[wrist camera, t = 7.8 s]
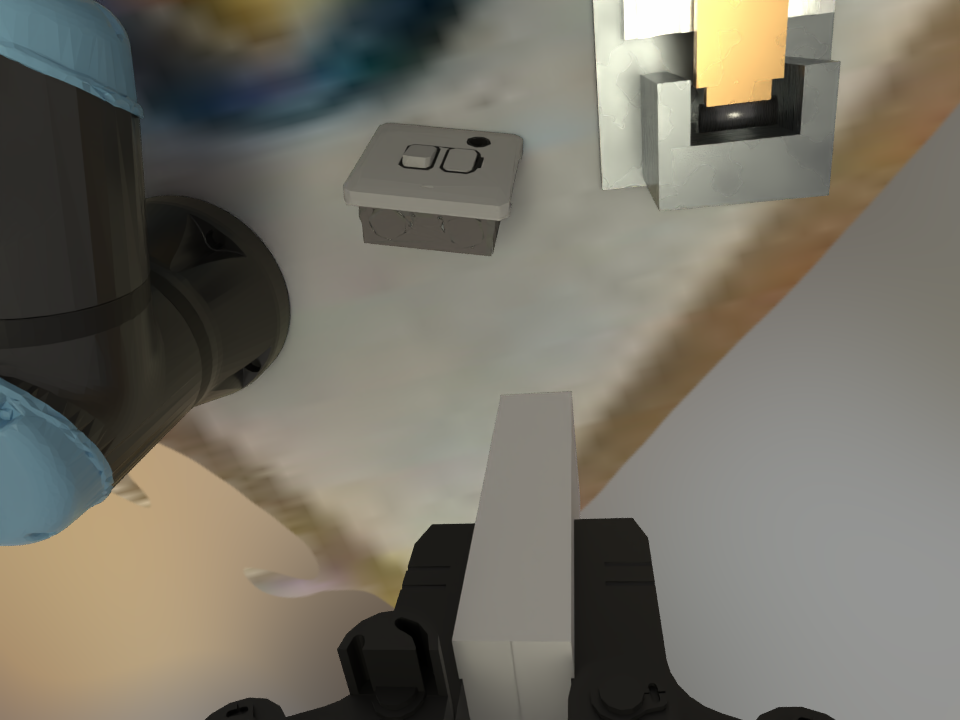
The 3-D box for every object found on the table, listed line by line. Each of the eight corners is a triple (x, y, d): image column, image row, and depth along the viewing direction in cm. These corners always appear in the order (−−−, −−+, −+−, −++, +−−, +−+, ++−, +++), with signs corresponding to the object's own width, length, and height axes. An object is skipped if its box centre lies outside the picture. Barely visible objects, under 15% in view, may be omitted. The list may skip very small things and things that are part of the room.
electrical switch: (525, 133, 43) (512, 174, 35) (518, 212, 46) (504, 266, 38) (381, 120, 44) (336, 157, 36) (382, 198, 46) (341, 248, 39)
